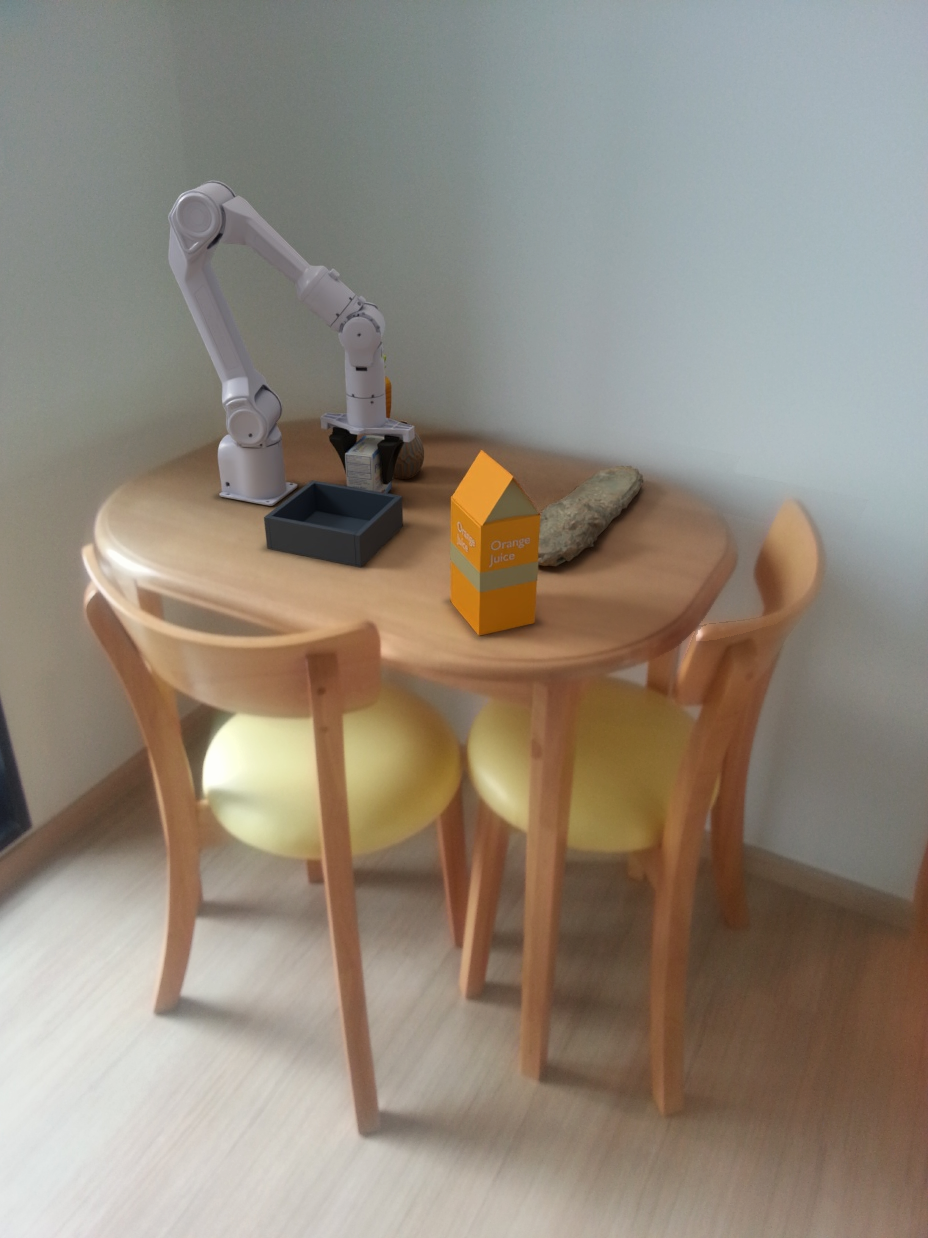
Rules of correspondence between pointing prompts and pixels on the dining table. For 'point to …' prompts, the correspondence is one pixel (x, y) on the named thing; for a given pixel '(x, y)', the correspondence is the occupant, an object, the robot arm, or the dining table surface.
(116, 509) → the dining table surface
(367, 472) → the medicine box
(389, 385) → the carrot
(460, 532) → the orange juice
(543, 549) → the elongated rock
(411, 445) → the vase
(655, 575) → the dining table surface
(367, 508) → the basket
